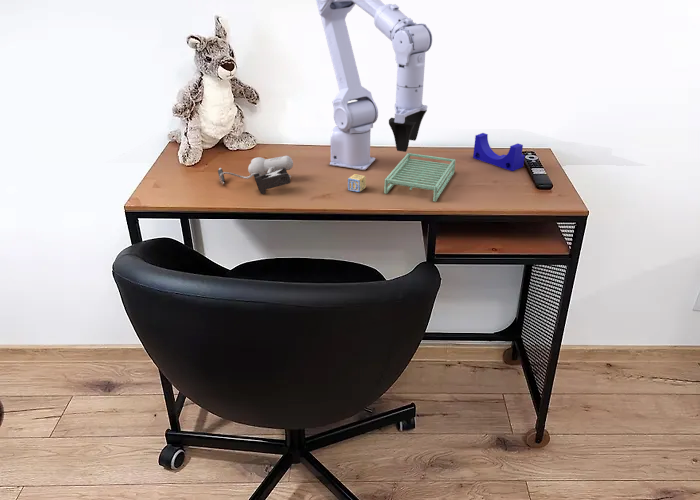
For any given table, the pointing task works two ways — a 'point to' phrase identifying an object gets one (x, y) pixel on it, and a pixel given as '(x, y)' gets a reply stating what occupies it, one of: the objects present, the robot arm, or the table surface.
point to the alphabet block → (357, 183)
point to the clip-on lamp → (266, 172)
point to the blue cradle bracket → (504, 161)
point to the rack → (421, 174)
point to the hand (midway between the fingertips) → (406, 145)
